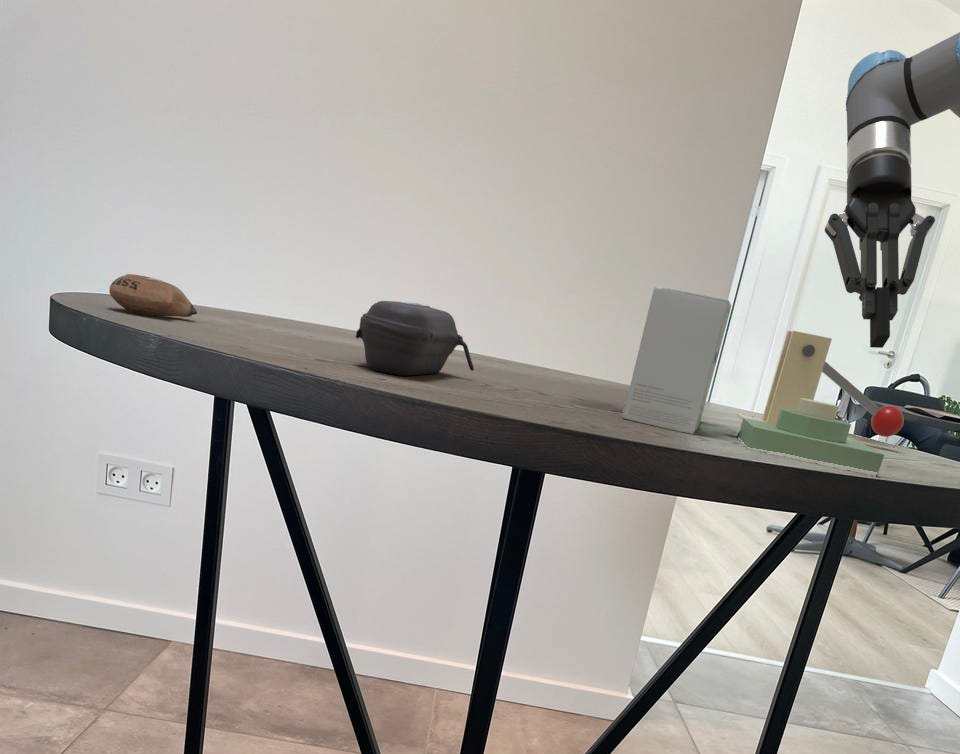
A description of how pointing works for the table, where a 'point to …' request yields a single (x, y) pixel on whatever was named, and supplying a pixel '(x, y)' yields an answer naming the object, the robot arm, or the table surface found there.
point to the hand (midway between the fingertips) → (879, 341)
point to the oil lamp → (150, 297)
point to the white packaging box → (676, 359)
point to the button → (817, 409)
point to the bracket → (795, 373)
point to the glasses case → (408, 338)
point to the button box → (810, 440)
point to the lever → (870, 406)
